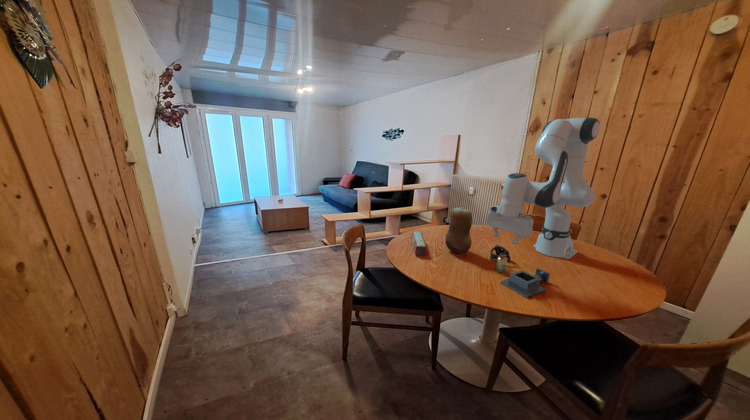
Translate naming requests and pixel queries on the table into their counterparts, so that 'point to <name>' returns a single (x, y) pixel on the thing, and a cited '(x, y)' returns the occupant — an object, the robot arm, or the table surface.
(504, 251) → the black mechanical part
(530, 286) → the socket fitting
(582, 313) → the table surface
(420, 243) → the snack package
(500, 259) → the brass valve
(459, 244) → the butternut squash
